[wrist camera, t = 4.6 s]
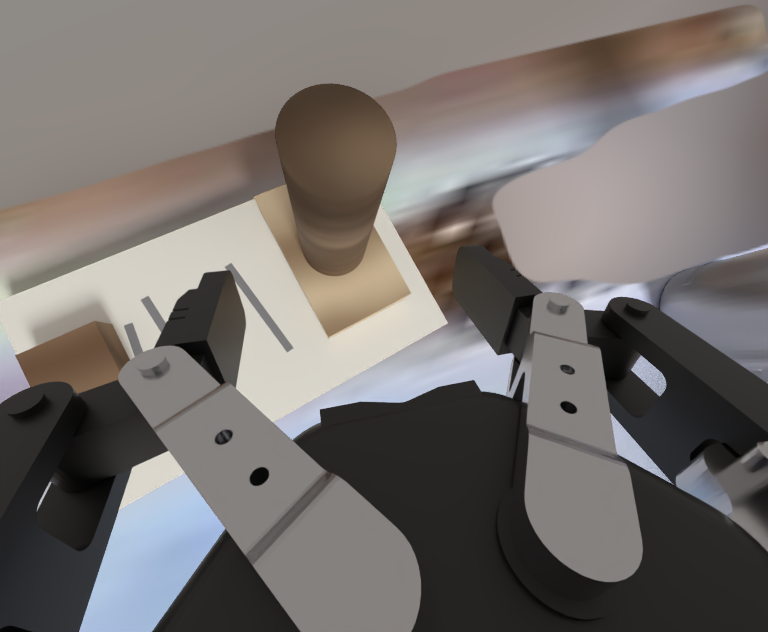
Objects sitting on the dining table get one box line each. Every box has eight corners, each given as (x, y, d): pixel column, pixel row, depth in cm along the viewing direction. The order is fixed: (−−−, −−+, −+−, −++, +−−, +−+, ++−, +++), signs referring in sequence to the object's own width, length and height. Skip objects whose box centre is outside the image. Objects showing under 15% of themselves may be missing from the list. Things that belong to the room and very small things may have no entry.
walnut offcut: (141, 382, 19) (125, 383, 18) (69, 417, 18) (47, 421, 17) (112, 324, 19) (94, 320, 18) (40, 356, 18) (15, 355, 17)
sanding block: (404, 299, 23) (483, 230, 11) (328, 339, 21) (327, 309, 10) (338, 179, 23) (346, -9, 11) (260, 211, 22) (180, 36, 10)
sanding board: (440, 325, 24) (447, 323, 23) (114, 510, 19) (96, 522, 18) (354, 170, 25) (355, 158, 24) (16, 308, 20) (-9, 303, 18)
